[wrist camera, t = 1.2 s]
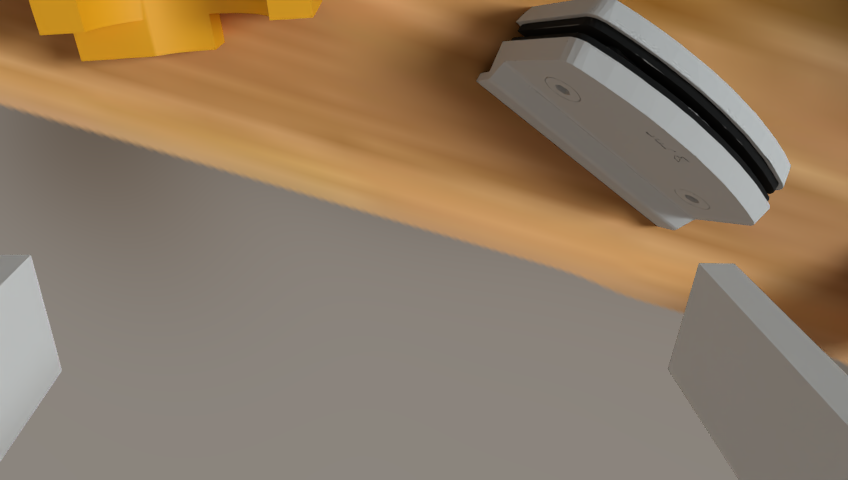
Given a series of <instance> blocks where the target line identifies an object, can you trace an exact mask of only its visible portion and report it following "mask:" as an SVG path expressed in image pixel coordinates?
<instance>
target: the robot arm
mask: <svg viewBox="0 0 848 480" xmlns="http://www.w3.org/2000/svg"><path fill="white" fill-rule="evenodd" d="M668 370H669V371H670V373H671V374H672V376H673V378H674V379H675V381H676V382H677V384H678V385H679V387H680V389H681V390H682V392H683V393H684V395H685V396H686V398H687V400H688V401H689V403H690V404H691V406H692V408H693V409H694V411H695V412H696V414H697V415H698V417H699V418H700V420H701V421H702V423H703V425H704V426H705V428H706V429H707V431H708V433H709V434H710V436H711V437H712V439H713V440H714V442H715V444H716V445H717V447H718V448H719V450H720V451H721V453H722V454H723V456H724V458H725V459H726V461H727V462H728V464H729V466H730V467H731V469H732V470H733V472H734V473H735V475H736V476H737V478H738V479H739V480H848V375H847V374H846V373H845V372H844V371H843V370H842V369H841V368H840V367H839V366H838V365H837V364H836V363H835V362H834V361H833V360H832V359H831V358H830V357H829V356H828V355H827V354H826V353H825V352H823V351H822V350H821V349H820V348H819V347H818V346H817V345H816V344H815V343H814V342H813V341H812V340H811V339H810V338H809V337H808V336H807V335H806V334H805V333H804V332H803V331H802V330H801V329H800V328H799V327H798V326H797V325H796V324H795V323H794V322H793V321H792V320H791V319H790V318H789V317H788V316H787V315H786V314H785V313H784V312H783V311H782V310H781V309H780V308H779V307H778V306H777V305H776V304H775V303H774V302H773V301H772V300H771V299H770V298H769V297H768V296H767V295H766V294H765V293H764V292H763V291H762V290H761V289H760V288H759V287H758V286H756V285H755V284H754V283H753V282H752V281H751V280H750V279H749V278H748V277H747V276H746V275H745V274H744V273H743V272H742V271H741V270H740V269H739V268H738V267H737V266H736V265H735V264H716V263H699V265H698V268H697V272H696V275H695V279H694V282H693V285H692V289H691V292H690V296H689V299H688V302H687V306H686V309H685V313H684V316H683V319H682V323H681V326H680V330H679V333H678V336H677V340H676V343H675V347H674V350H673V353H672V357H671V360H670V364H669V367H668ZM61 371H62V369H61V365H60V361H59V358H58V354H57V350H56V347H55V343H54V339H53V336H52V332H51V328H50V324H49V320H48V317H47V313H46V310H45V306H44V302H43V298H42V295H41V291H40V287H39V283H38V280H37V276H36V272H35V269H34V265H33V261H32V257H31V255H1V254H0V461H1V460H2V458H3V457H4V455H5V454H6V452H7V451H8V449H9V448H10V446H11V445H12V443H13V442H14V441H15V439H16V438H17V436H18V435H19V433H20V432H21V430H22V429H23V427H24V426H25V424H26V423H27V421H28V420H29V418H30V417H31V415H32V414H33V412H34V411H35V410H36V408H37V407H38V405H39V404H40V402H41V400H42V399H43V397H44V396H45V395H46V393H47V392H48V390H49V389H50V387H51V386H52V384H53V383H54V382H55V380H56V378H57V377H58V375H59V374H60V373H61Z"/></svg>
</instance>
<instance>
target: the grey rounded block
mask: <svg viewBox="0 0 848 480" xmlns="http://www.w3.org/2000/svg"><path fill="white" fill-rule="evenodd" d="M516 22H517V23H518V24H519V25H520V26H521V27H520V28H519V30H518V32H520V33H521V34H522V35H523V36H524V37H516V38H513V39H512V40H511V41H503V42H502V44H501V47H500V49H499V51H498V53H497V56H496V58H495V60H494V62H493V65H492V67H491V69H490V71H489V72H485V73H480V75H479V77H478V79H477V81H476V82H478V83H479V84H480V85H481V86H483V87H484V88H485V89H486V90H488V91H489V92H490V93H491V94H493V95H494V96H495V97H496V98H498V99H499V100H500V101H501V102H503V103H504V104H505V105H506V106H508V107H509V108H510V109H511V110H513V111H514V112H515V113H516V114H518V115H519V116H520V117H521V118H523V119H524V120H525V121H526V122H528V123H529V124H530V125H531V126H533V127H534V128H535V129H536V130H538V131H539V132H540V133H541V134H543V135H544V136H545V137H546V138H548V139H549V140H550V141H551V142H553V143H554V144H555V145H556V146H558V147H559V148H560V149H561V150H563V151H564V152H565V153H566V154H568V155H569V156H570V157H571V158H573V159H574V160H575V161H576V162H578V163H579V164H580V165H581V166H583V167H584V168H585V169H587V170H588V171H589V172H590V173H592V174H593V175H594V176H595V177H597V178H598V179H599V180H600V181H602V182H603V183H604V184H605V185H607V186H608V187H609V188H610V189H612V190H613V191H614V192H615V193H617V194H618V195H619V196H620V197H622V198H623V199H624V200H625V201H627V202H628V203H629V204H630V205H632V206H633V207H634V208H635V209H637V210H638V211H639V212H640V213H642V214H643V215H644V216H645V217H647V218H648V219H649V220H650V221H652V222H653V223H654V224H655V225H657V226H658V227H662V228H666V229H670V230H676V229H678V228H680V227H682V226H684V225H685V224H687V223H689V222H690V221H692V220H695V219H699V220H708V221H716V222H725V223H733V224H742V225H750V226H751V225H754V224H755V223H756V222H757V221H758V220H759V219H760V218H761V217H762V216H763V215H764V214H765V213H766V212H767V211H768V210H769V208H770V205H769V203H768V200H769V196H768V194H771V193H773V192H774V191H775V190H780V189H782V188H783V187H784V184H785V181H786V179H787V176H788V173H789V170H790V167H791V165H790V163H789V161H788V159H787V157H786V155H785V153H784V151H783V150H782V148H781V147H780V145H779V143H778V142H777V140H776V139H775V137H774V136H773V135H772V133H771V132H770V131H769V129H768V128H767V127H766V126H765V124H764V123H763V122H762V121H761V119H760V118H759V117H758V116H757V114H756V113H755V112H754V111H753V110H752V109H751V108H750V107H749V106H748V105H747V104H746V103H745V102H744V100H743V99H742V98H741V97H740V96H739V95H738V94H737V93H736V92H735V91H734V90H733V89H732V88H731V87H730V86H729V85H728V84H727V83H726V82H724V81H723V80H722V79H721V78H720V77H719V76H718V75H717V74H716V73H715V72H714V71H713V70H711V69H710V68H709V67H708V66H707V65H705V64H704V63H703V62H702V61H700V60H699V59H698V58H697V57H696V56H694V55H693V54H692V53H691V52H690V51H688V50H687V49H686V48H685V47H683V46H682V45H681V44H680V43H678V42H677V41H676V40H674V39H673V38H672V37H670V36H669V35H668V34H666V33H665V32H664V31H662V30H661V29H659V28H658V27H657V26H655V25H654V24H652V23H651V22H649V21H648V20H646V19H645V18H643V17H642V16H640V15H639V14H637V13H636V12H634V11H633V10H631V9H630V8H628V7H627V6H625V5H623V4H622V3H620V2H619V1H617V0H572V1H566V2H560V3H553V4H547V5H541V6H534V7H531V8H530V9H529V10H527V11H526V12H525V13H524V14H523V15H522V16H521V17H520V18H519V19H518V20H517V21H516Z"/></svg>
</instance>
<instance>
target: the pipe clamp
mask: <svg viewBox="0 0 848 480" xmlns="http://www.w3.org/2000/svg"><path fill="white" fill-rule="evenodd" d="M29 3H30V6H31V9H32V12H33V15H34V18H35V21H36V25H37V28H38V31H39V34H40V35H53V34H68V33H73V34H74V37H75V41H76V44H77V48H78V51H79V54H80V58H81V61H94V60H108V59H123V58H138V57H153V56H159V55H166V54H173V53H181V52H190V51H201V50H216V49H217V48H218V47H219V46H221V45H222V44H223V43H224V42H225V41H224V35H223V30H222V25H221V20H220V14H219V13H251V14H261V15H266V16H269V19H270V20H282V19H297V18H312V17H314V15H315V13H316V11H317V10H318V8H319V6H320V4H321V3H322V0H29Z"/></svg>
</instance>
